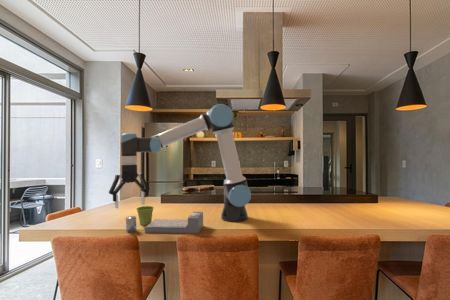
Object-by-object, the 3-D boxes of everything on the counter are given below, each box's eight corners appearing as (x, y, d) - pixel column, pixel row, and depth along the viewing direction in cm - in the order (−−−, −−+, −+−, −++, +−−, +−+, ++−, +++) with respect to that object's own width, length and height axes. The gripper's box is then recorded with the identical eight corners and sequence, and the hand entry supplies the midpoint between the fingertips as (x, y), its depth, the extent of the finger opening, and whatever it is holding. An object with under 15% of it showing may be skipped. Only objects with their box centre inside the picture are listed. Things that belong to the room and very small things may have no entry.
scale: (203, 226, 165) (202, 210, 165) (198, 233, 152) (197, 217, 152) (154, 225, 168) (153, 210, 168) (145, 232, 156) (144, 216, 155)
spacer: (138, 229, 161) (137, 216, 160) (134, 232, 156) (133, 218, 155) (128, 229, 161) (128, 216, 161) (124, 232, 156) (124, 218, 156)
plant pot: (151, 225, 167) (151, 209, 167) (134, 226, 168) (134, 210, 167) (156, 221, 177) (155, 205, 176) (139, 221, 177) (139, 206, 177)
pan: (191, 221, 165) (191, 219, 165) (186, 227, 153) (186, 226, 153) (155, 220, 168) (155, 219, 168) (147, 227, 156) (147, 225, 156)
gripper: (149, 162, 168) (150, 201, 169) (101, 165, 152) (102, 208, 153) (155, 163, 162) (156, 203, 163) (106, 166, 147) (107, 210, 147)
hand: (130, 206), depth 158 cm, fingers open, 13 cm apart
